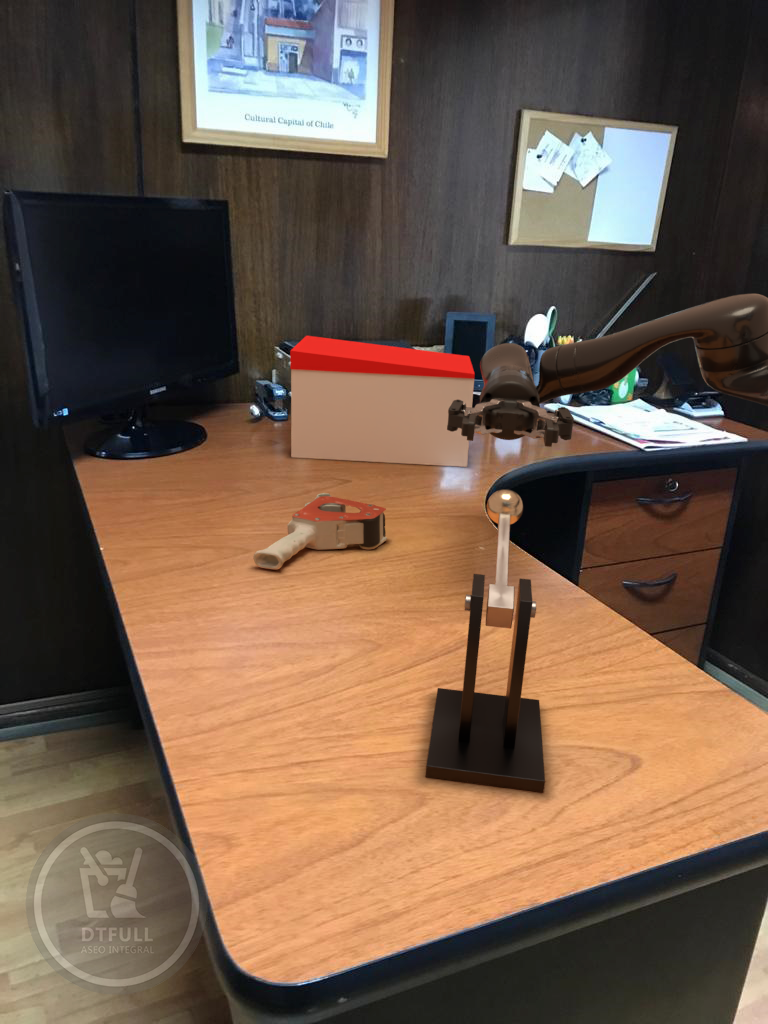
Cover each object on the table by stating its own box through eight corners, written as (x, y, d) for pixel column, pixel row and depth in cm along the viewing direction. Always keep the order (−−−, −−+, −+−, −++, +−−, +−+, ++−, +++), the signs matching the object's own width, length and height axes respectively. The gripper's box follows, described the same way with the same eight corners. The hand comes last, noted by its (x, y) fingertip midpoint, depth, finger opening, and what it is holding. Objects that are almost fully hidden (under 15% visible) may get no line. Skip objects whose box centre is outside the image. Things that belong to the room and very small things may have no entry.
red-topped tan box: (304, 430, 172) (305, 335, 164) (462, 439, 170) (470, 343, 163) (289, 457, 152) (289, 350, 145) (467, 467, 151) (475, 360, 144)
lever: (486, 509, 80) (489, 480, 78) (521, 512, 79) (525, 483, 77) (476, 630, 67) (479, 600, 64) (518, 634, 66) (523, 604, 64)
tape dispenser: (256, 584, 103) (401, 565, 107) (253, 549, 100) (401, 531, 105) (245, 529, 118) (372, 514, 123) (242, 497, 116) (371, 483, 120)
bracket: (436, 697, 77) (448, 553, 72) (537, 710, 76) (557, 564, 71) (425, 777, 66) (437, 613, 61) (543, 792, 65) (567, 627, 59)
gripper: (561, 436, 100) (571, 473, 85) (451, 427, 101) (442, 462, 86) (569, 378, 97) (580, 405, 82) (455, 370, 99) (446, 396, 84)
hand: (509, 434), depth 84 cm, fingers open, 8 cm apart
